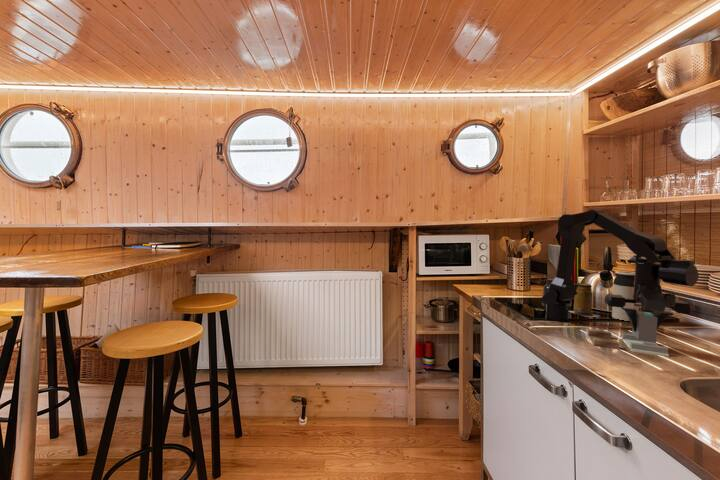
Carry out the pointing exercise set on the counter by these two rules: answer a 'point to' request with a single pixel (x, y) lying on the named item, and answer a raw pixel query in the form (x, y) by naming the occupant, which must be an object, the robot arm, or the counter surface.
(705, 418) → the counter surface
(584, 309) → the condiment
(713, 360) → the counter surface
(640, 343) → the cradle
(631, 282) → the travel mug
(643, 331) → the plug
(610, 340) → the walnut dock
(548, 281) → the supplement bottle
